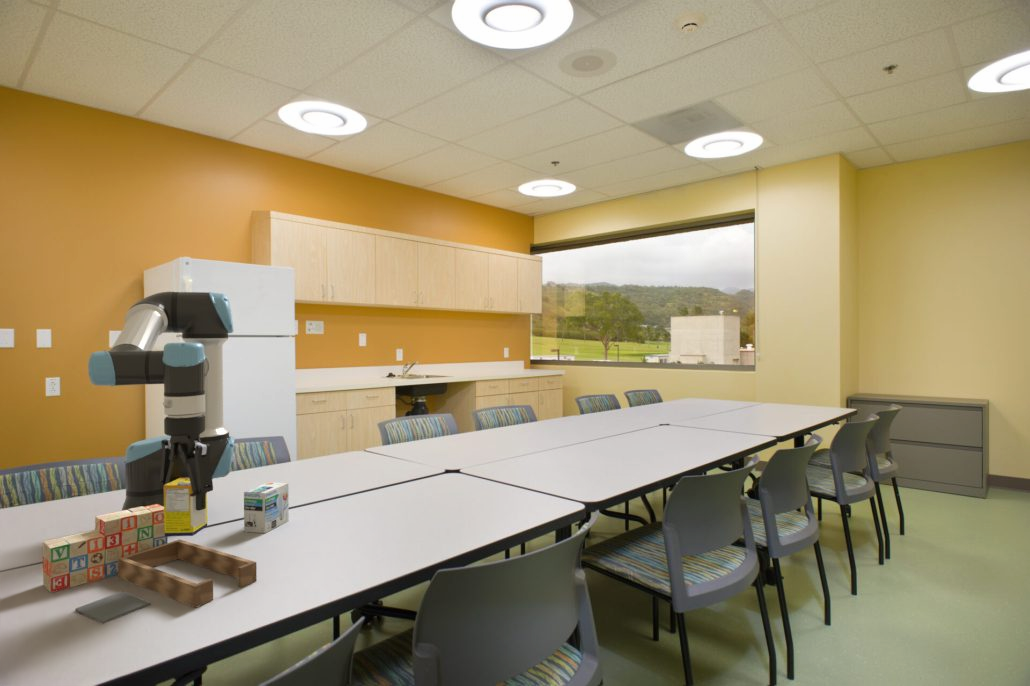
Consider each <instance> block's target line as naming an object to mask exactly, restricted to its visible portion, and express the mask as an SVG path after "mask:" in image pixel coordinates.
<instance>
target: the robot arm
mask: <svg viewBox="0 0 1030 686" xmlns="http://www.w3.org/2000/svg"><path fill="white" fill-rule="evenodd" d="M233 322H234V321H233V316H232V310H231V304H230V300H229V297H228V296H227V294H224V293H218V292H211V291H209V292H207V291H206V292H200V291H199V292H197V291H195V292H193V291H192V292H191V291H190V292H189V291H163V292H162V291H161V292H158V293H153V294H151V295H148V296H146V297H144V298H142V299H140V300H139V301H136V302H135V303H134V304H133V305H132V306H131V307H130V308H129V309H128V311H127V312H126V315H125V317H124V323H125V325H124V327H123V328H122V329H121V331H120V333H119V335H118V337H117V339H116V340H115V342H114V343H113V345H112V347H111V349H110V350H102V351H94V352H92V353H91V354H90V356H89V359H88V366H87V371H88V379H89V381H90V383H91V384H92V385H93V386H96V387H98V386H100V387H101V386H103V387H104V386H105V387H107V386H108V387H109V386H110V387H115V386H116V387H117V386H119V387H120V386H135V385H136V386H138V385H163V396H164V397H163V402H162V405H163V406H164V407H163V409H164V411H163V413H164V415H165V416H166V417H164V419H163V420H164V421H163V422H164V423H163V425H164V426H163V432H164V434H165V435H161V436H156V437H151V438H147V439H143V440H139V441H136V442H132V443H130V445H128V446H127V447H126V450H125V460H124V464H125V500H124V502H123V505H122V508H121V510H120V511H123V510H128V509H131V508H136V507H141V506H143V507H145V506H150V505H155V504H159V505H161V506H163V507H164V485H165V484H167V483H170V482H172V481H174V480H176V479H178V478H190V482H191V486H192V490H193V493H192V494H190V499H191V526H192V527H194V526H197V525H201V524H204V523H206V493H207V494H208V493H209V492H212V491H214V485H213V484H214V483H213V480H214V479H218V478H225V477H227V476H228V475H229V474H230V473H231V469H232V468H231V467H232V461H233V454H234V448H235V439H236V438H235V437H234V436H232V435H230V430H229V429H228V428H226V427H225V426H224V394H223V393H224V383H223V382H224V379H223V376H224V375H223V374H224V373H223V372H224V370H223V346H224V343H225V342H226V341H228V340H229V334H232V333H234V323H233ZM166 333H174V334H179V333H180V334H182V335H181V336H182V337H181V339H182V341H183V342H167V343H166V344H165V345H164V347H163V350H153V349H154V347H155V344H156V342H157V340H158V337H159V336H161V335H163V334H166Z"/></svg>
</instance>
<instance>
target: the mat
mask: <svg viewBox="0 0 1030 686" xmlns="http://www.w3.org/2000/svg"><path fill="white" fill-rule="evenodd" d="M150 605H151V602H149V601H147V600H145V599H142V598H139V597H137V596H135V595H133V594H129V593H127V592H125V591H120V592H116V593H114V594H111V595H108V596H106V597H103V598H100V599H98V600H94V601H92V602H90V603H87V604H84V605H82V606H77V607H76V608H75V611H76V612H77V613H80V614H82V615H84V616H86V617H88V618H91V619H92V620H94V621H96V622H99V623H101V624H102V625H103V624H105V623H107V622H110V621H112V620H116V619H117V618H120V617H122V616H125V615H128V614H130V613H133V612H134V611H135V612H136V611H137V610H138V611H139V609H142V608H146V607H148V606H150Z"/></svg>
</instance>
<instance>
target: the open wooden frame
mask: <svg viewBox="0 0 1030 686" xmlns="http://www.w3.org/2000/svg"><path fill="white" fill-rule="evenodd" d="M177 559H178V560H181V561H185V562H188V563H191V564H194V565H197V566H199V567H202V568H206V569H208V570H212V571H215V572H218V573H221V574H223V575H227V576H230V577H233V578H236V579H238V580H237V582H238V583H237V584H238V585H237V586H238V587H237V588H244V587H246V586H248V585H251V584H253V583H256V582H257V577H258V576H257V561H253V560H250V559H247V558H244V557H240V556H236V555H234V554H230V553H226V552H223V551H220V550H216V549H213V548H211V547H206V546H203V545H201V544H197V543H194V542H190V541H186V540H184V539H183V540H182V539H176V540H173V541H170V542H167V543H166V544H163V545H160V546H157V547H154V548H151V549H148V550H144V551H141V552H138V553H135V554H132V555H129V556H126V557H122V558H119V559H118V574H117V578H119V579H121V580H124V581H127V582H128V583H132V584H134V585H136V586H140V587H142V588H144V589H147V590H150V591H152V592H155V593H156V594H159V595H161V596H162V595H163V596H165V597H166V598H170V599H173V600H175V601H177V602H180V603H182V604H185V605H188V606H191V607H192V608H198V607H201V606H202V605H205V604H207V603H210V602H212V601H214V579H212V578H208V579H205V580H203V581H200V582H198V583H197V582H195V581H191V580H189V579H186V578H182V577H180V576H177V575H174V574H171V573H169V572H166V571H162V570H160V569H158V568H154V567H157V566H160V565H163V564H166V563H169V562H172V561H175V560H177Z"/></svg>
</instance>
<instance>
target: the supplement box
mask: <svg viewBox="0 0 1030 686" xmlns="http://www.w3.org/2000/svg"><path fill="white" fill-rule="evenodd" d="M192 493H193V490H192V486H191V482H190V478H178V479H176V480H174V481H172V482H170V483H167V484H165V485H164V528H165V536H168V537H193V536H195V535H197V534H198V533H199V532H201V531H202V530H204V529H206V527H208V492H207V493H206V523H204V524H201V525H197V526H194V527H192V526H191V499H190V494H192Z"/></svg>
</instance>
